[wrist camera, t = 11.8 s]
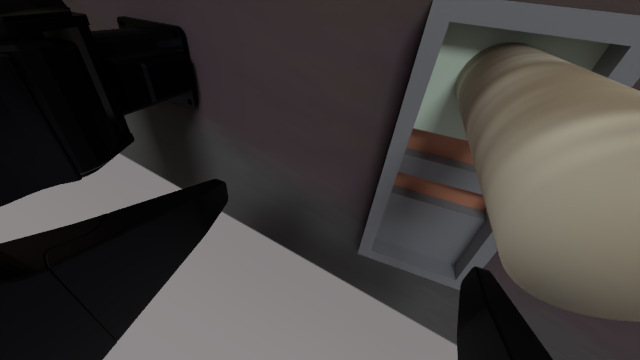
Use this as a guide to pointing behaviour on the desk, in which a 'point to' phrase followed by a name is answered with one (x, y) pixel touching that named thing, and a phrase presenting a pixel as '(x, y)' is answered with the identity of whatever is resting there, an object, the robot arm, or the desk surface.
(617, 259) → the beige tall rounded piece
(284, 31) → the desk surface
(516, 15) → the box
